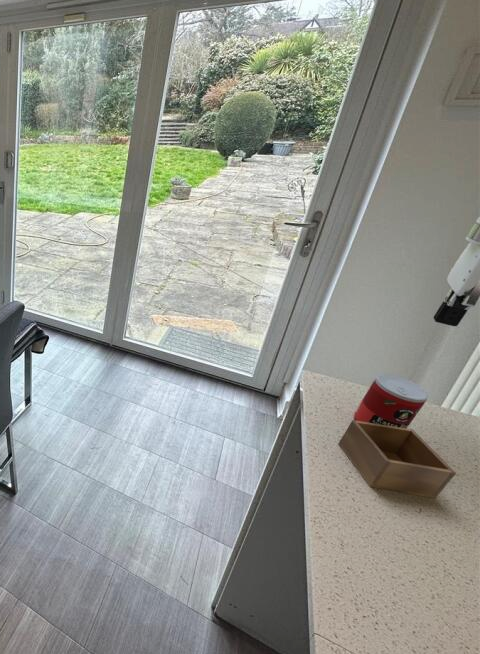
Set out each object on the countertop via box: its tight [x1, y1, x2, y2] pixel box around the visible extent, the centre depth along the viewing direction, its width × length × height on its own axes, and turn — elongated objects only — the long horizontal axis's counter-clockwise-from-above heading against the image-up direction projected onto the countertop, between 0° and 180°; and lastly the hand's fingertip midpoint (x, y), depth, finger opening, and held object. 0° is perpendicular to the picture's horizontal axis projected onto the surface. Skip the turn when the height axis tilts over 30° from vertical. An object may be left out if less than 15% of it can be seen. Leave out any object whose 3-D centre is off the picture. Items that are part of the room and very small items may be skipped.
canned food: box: [353, 373, 429, 429], centre depth 84 cm, size 8×8×11 cm
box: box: [338, 419, 457, 499], centre depth 75 cm, size 10×10×6 cm
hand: (444, 322), depth 83 cm, fingers closed
